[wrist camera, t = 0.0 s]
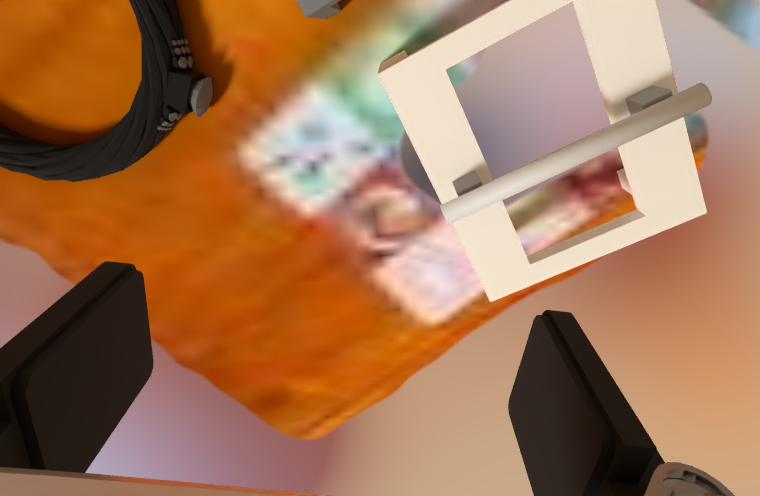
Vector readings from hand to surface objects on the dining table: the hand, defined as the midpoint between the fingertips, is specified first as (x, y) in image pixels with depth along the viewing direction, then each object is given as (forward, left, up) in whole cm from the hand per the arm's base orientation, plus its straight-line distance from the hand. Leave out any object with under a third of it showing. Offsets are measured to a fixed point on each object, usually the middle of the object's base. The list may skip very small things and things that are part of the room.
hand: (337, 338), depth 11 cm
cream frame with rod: (+8, +11, -37) cm, 40 cm away
